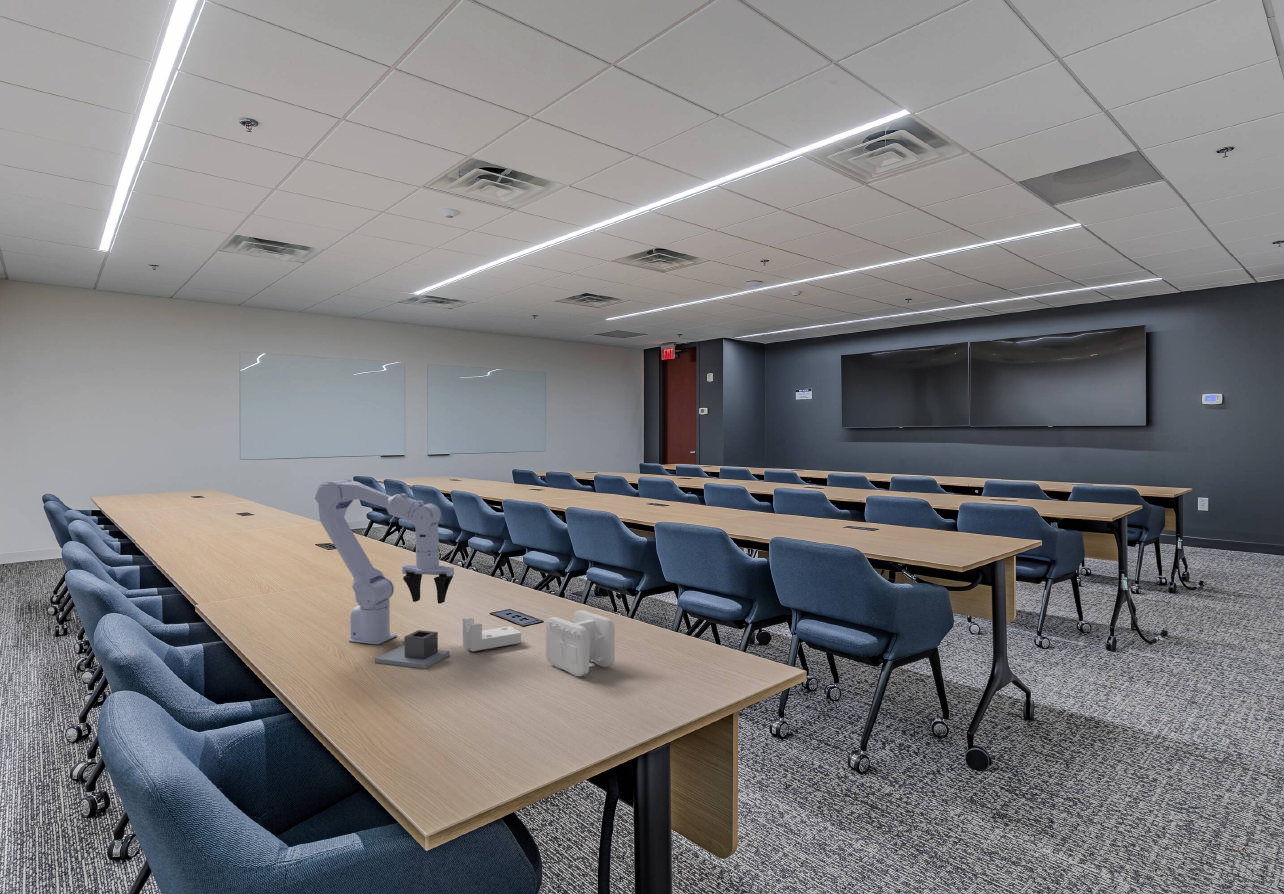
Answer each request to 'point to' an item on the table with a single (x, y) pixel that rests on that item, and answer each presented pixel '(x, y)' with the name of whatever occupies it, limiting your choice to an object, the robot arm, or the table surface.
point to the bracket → (487, 636)
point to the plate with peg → (399, 658)
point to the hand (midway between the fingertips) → (428, 601)
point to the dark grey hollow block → (421, 644)
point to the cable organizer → (580, 642)
